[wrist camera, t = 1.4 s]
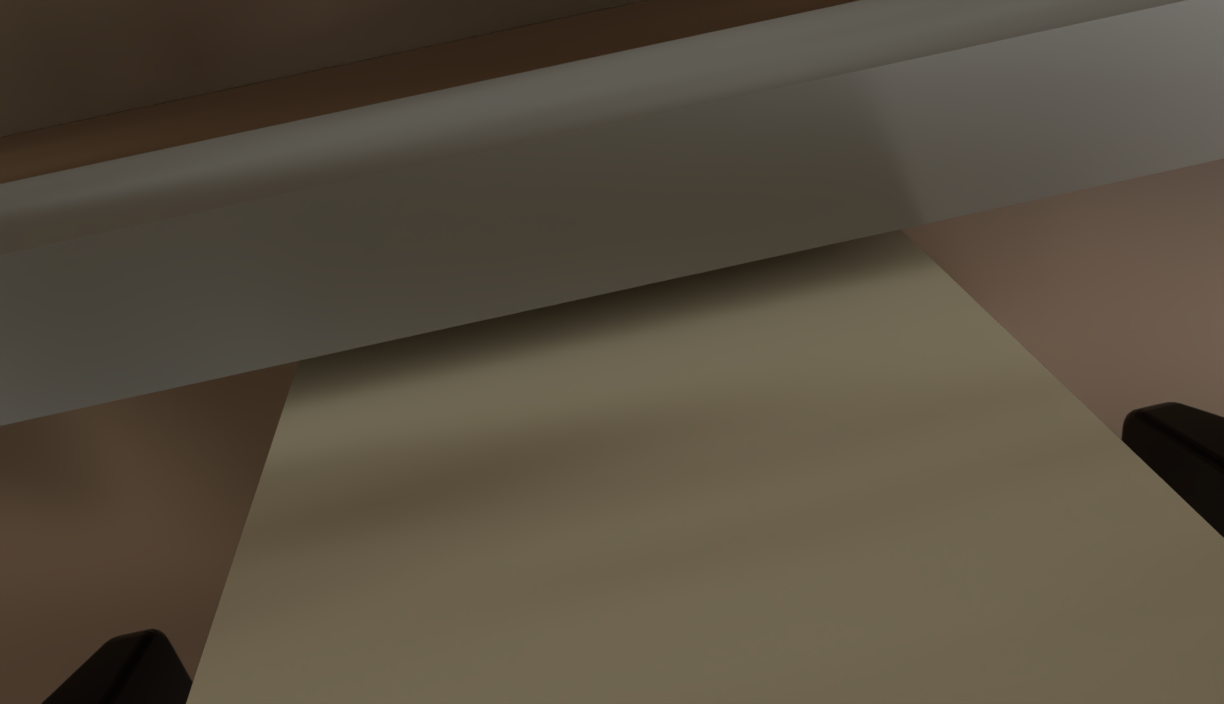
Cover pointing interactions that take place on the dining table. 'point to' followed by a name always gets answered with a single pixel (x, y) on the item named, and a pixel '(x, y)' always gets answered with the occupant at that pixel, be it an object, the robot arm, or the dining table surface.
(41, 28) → the dining table surface
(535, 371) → the beige block
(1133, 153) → the walnut board
